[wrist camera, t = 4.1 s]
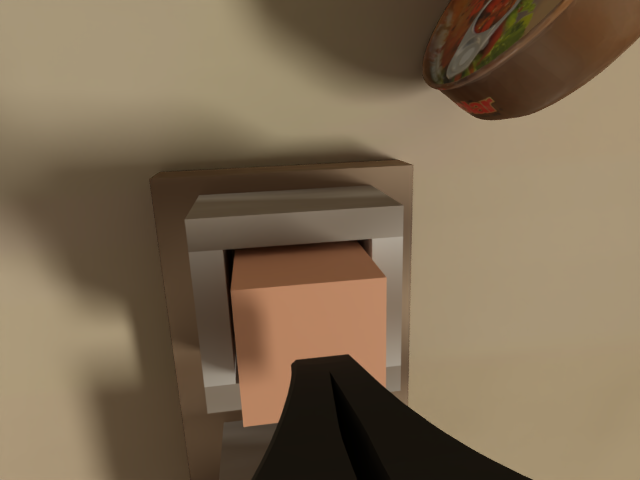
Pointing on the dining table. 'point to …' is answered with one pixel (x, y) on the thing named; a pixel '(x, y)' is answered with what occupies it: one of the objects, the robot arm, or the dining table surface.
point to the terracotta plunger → (303, 316)
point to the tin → (524, 51)
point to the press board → (261, 231)
